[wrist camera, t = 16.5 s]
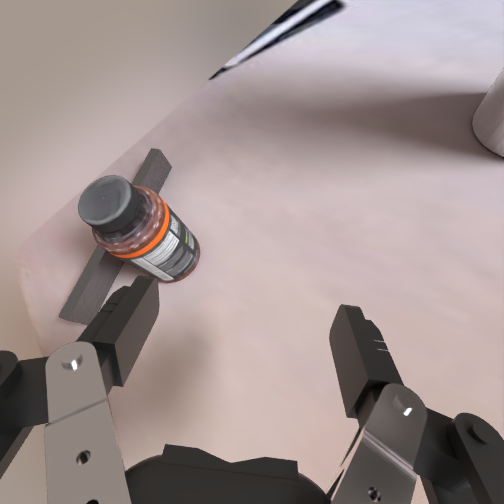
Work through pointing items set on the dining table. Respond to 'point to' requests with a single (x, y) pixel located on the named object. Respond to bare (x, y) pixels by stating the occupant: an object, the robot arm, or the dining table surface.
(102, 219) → the supplement bottle
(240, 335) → the dining table surface
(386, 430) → the robot arm
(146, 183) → the rail
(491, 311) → the dining table surface
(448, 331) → the dining table surface
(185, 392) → the dining table surface
